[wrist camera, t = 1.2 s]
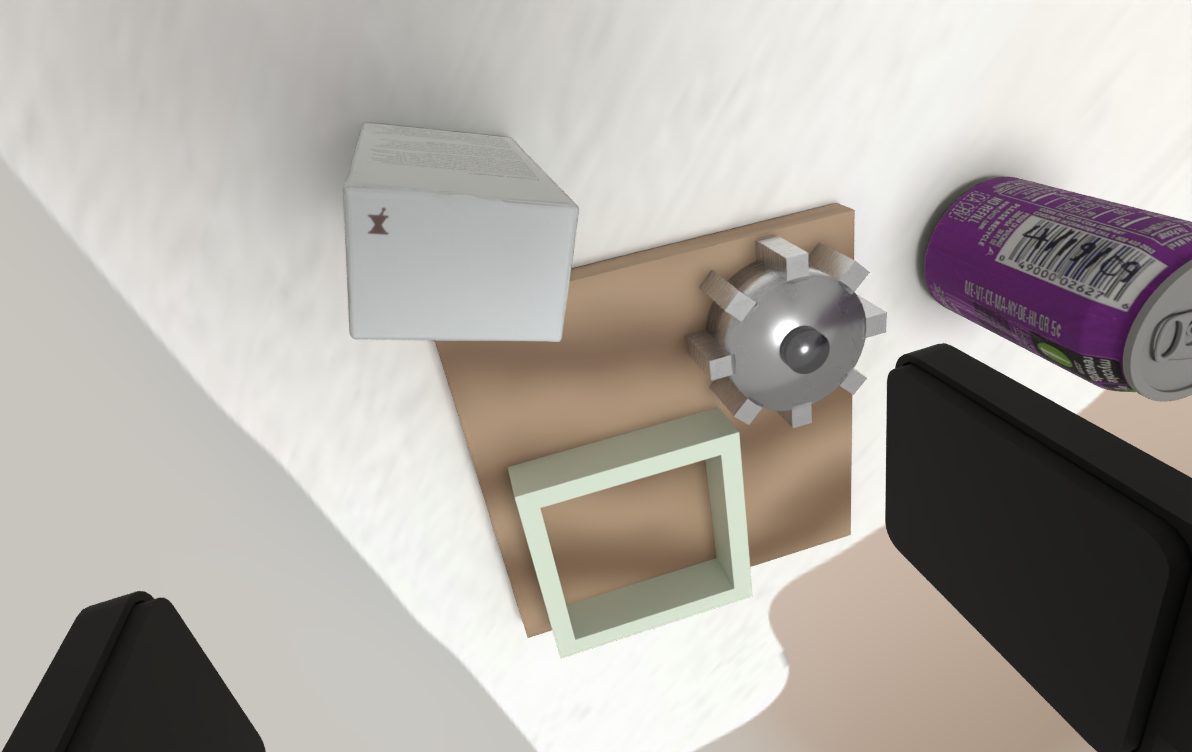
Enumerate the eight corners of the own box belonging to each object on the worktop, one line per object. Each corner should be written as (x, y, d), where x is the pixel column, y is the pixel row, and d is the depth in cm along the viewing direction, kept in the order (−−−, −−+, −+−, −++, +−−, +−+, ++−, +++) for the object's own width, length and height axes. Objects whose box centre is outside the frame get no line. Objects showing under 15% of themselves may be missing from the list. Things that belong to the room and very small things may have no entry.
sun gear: (676, 258, 31) (708, 286, 28) (850, 215, 32) (901, 236, 29) (695, 418, 35) (724, 459, 32) (849, 375, 36) (893, 409, 33)
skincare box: (363, 228, 29) (341, 342, 18) (362, 119, 27) (336, 178, 17) (509, 237, 30) (564, 347, 20) (517, 136, 29) (582, 199, 18)
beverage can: (914, 322, 38) (1107, 435, 28) (915, 196, 34) (1136, 269, 24) (1028, 285, 39) (1258, 380, 28) (1040, 157, 35) (1307, 212, 25)
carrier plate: (426, 304, 31) (427, 316, 30) (837, 203, 34) (854, 210, 32) (523, 618, 40) (527, 637, 39) (837, 519, 43) (850, 534, 42)
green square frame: (507, 467, 34) (514, 497, 32) (718, 407, 35) (739, 432, 33) (551, 623, 39) (560, 658, 37) (733, 565, 41) (752, 596, 38)
